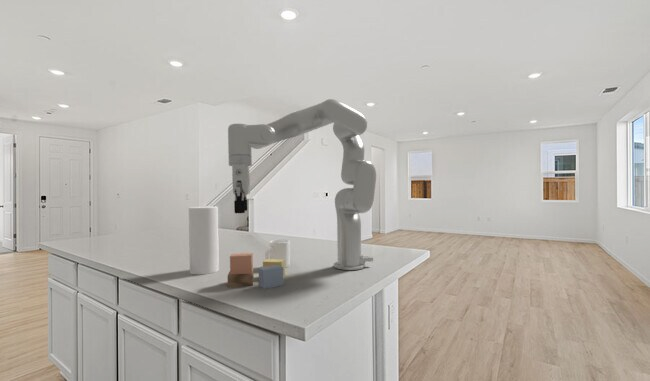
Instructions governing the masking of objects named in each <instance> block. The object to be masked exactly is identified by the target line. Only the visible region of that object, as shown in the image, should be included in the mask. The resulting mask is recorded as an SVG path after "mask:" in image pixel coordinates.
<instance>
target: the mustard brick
mask: <svg viewBox="0 0 650 381" xmlns="http://www.w3.org/2000/svg"><path fill="white" fill-rule="evenodd" d="M274 265H279V266H282V267H283V278H285V277H286V268H285V260H279V259H270V258H269V259H265V260H263V261H262V267H268V266H274Z"/></svg>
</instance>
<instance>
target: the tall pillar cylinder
mask: <svg viewBox="0 0 650 381" xmlns="http://www.w3.org/2000/svg"><path fill="white" fill-rule="evenodd" d="M188 240H189V241H188V246H189V248H188V249H189V273H190V274H191V275H209V274H213V273H216V272H218V271H220V261H219V260H220V257H219V256H220V255H219V254H220V253H219V252H220V251H219V250H220V249H219V247H220V246H219V206H217V205H216V206H215V205H213V206H212V205H211V206H189V207H188Z"/></svg>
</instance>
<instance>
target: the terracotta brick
mask: <svg viewBox="0 0 650 381" xmlns="http://www.w3.org/2000/svg"><path fill="white" fill-rule="evenodd" d="M253 254H254V253H251V252H250V253H249V252H246V253H245V252H244V253H232V254H230V255H229V268H230V269H229V272H230V275H231V274H252V272H253V273H254V264H253V263H254V261H253V260H254V257H253Z"/></svg>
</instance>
